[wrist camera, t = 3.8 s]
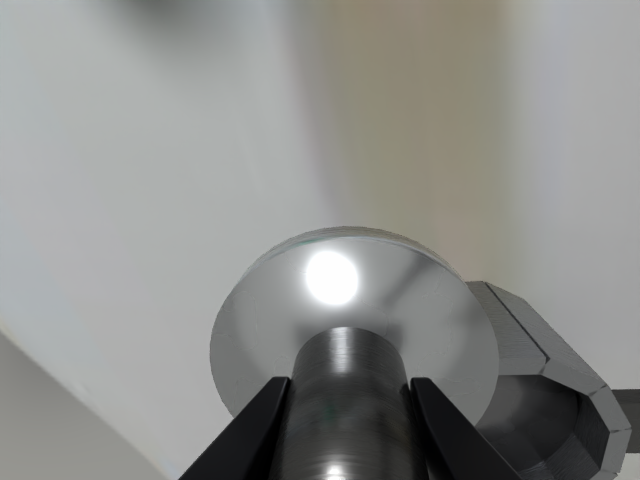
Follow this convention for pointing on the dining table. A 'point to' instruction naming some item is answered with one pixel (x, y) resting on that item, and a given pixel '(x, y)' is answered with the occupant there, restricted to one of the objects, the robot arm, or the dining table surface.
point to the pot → (551, 400)
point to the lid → (352, 350)
